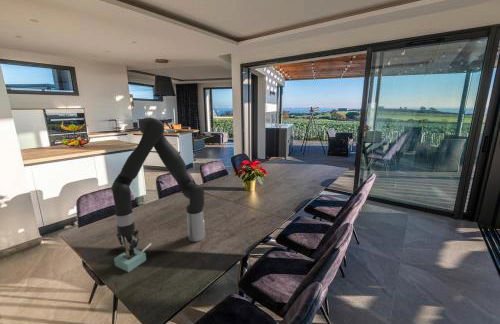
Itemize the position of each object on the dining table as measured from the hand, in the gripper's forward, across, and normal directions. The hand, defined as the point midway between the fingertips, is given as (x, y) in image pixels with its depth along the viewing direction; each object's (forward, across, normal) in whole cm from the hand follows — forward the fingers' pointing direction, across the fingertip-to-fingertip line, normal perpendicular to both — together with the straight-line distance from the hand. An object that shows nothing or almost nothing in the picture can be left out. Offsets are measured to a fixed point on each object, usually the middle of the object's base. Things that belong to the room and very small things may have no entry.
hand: (129, 253), depth 115 cm
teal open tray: (+5, 0, 0) cm, 5 cm away
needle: (+3, 0, 0) cm, 3 cm away
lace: (+5, +3, -11) cm, 12 cm away
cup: (+5, +12, -10) cm, 16 cm away
